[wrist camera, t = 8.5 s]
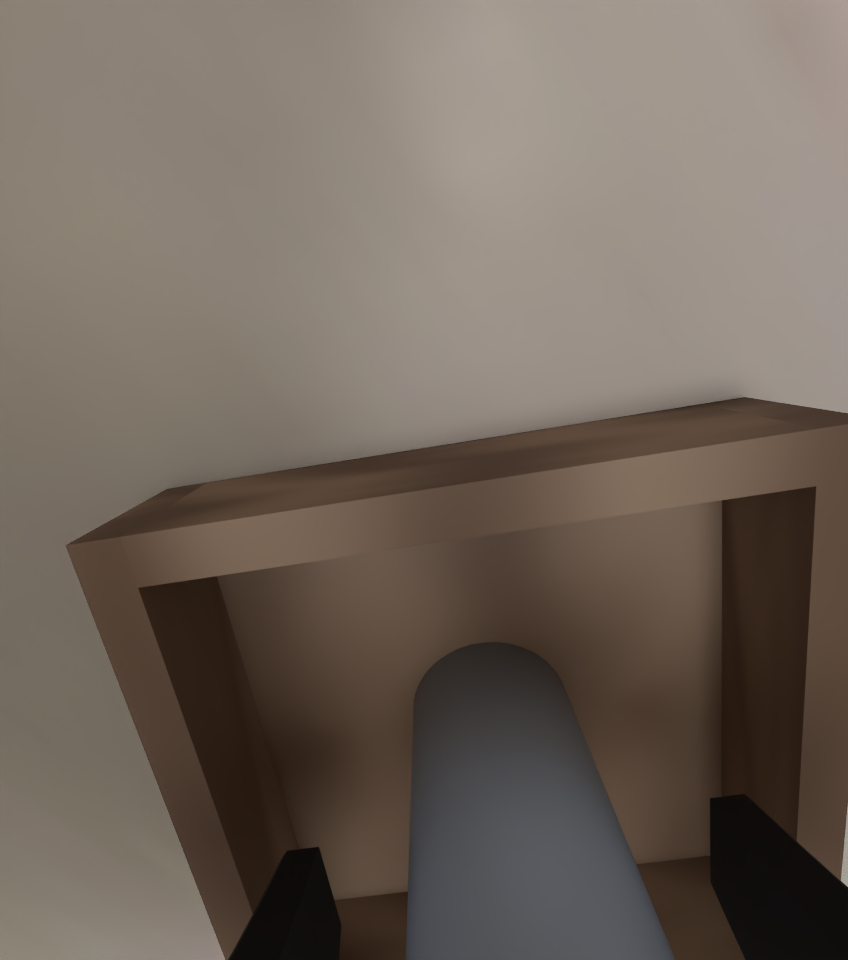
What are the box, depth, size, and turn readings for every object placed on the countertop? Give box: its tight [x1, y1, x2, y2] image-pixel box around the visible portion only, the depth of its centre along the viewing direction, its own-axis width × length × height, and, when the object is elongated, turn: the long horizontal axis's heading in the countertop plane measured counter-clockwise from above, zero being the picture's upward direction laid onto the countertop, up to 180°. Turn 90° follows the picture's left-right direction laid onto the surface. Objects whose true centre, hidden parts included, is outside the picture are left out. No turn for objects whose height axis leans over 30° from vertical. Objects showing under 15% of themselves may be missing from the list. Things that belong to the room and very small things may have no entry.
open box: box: [66, 397, 848, 960], centre depth 12 cm, size 14×14×4 cm
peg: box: [406, 642, 675, 960], centre depth 9 cm, size 4×4×8 cm
